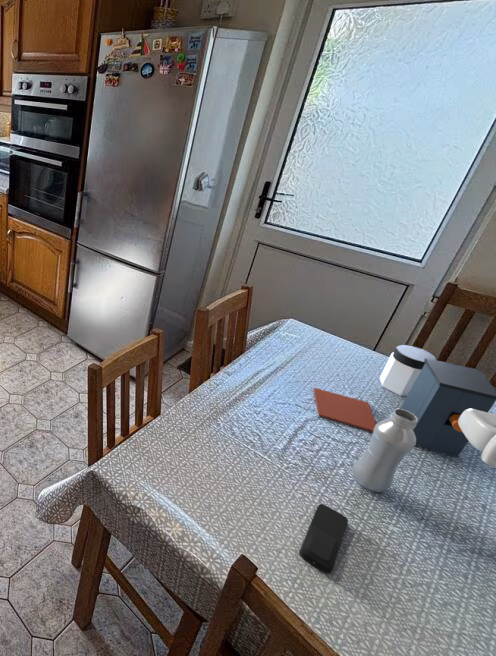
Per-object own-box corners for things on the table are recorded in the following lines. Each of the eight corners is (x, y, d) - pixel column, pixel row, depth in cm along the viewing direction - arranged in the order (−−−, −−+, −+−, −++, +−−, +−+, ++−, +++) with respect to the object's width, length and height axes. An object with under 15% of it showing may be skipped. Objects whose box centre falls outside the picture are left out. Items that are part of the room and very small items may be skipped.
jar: (403, 378, 122) (420, 345, 117) (427, 397, 115) (447, 363, 110) (370, 377, 123) (386, 344, 118) (392, 396, 116) (410, 361, 110)
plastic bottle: (382, 477, 92) (421, 410, 84) (390, 501, 87) (433, 432, 79) (346, 465, 96) (380, 399, 87) (352, 488, 90) (388, 420, 82)
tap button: (465, 427, 94) (472, 417, 93) (469, 434, 93) (476, 424, 91) (446, 422, 96) (452, 411, 95) (450, 429, 94) (456, 418, 93)
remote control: (317, 507, 87) (297, 555, 78) (320, 501, 86) (300, 549, 77) (346, 523, 84) (329, 576, 74) (349, 518, 83) (333, 570, 74)
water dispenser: (443, 429, 105) (480, 370, 97) (459, 459, 97) (501, 397, 89) (393, 415, 109) (425, 357, 101) (405, 442, 101) (440, 382, 93)
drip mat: (367, 404, 113) (368, 402, 113) (377, 433, 104) (378, 431, 103) (313, 389, 119) (314, 387, 118) (318, 416, 109) (319, 414, 109)
